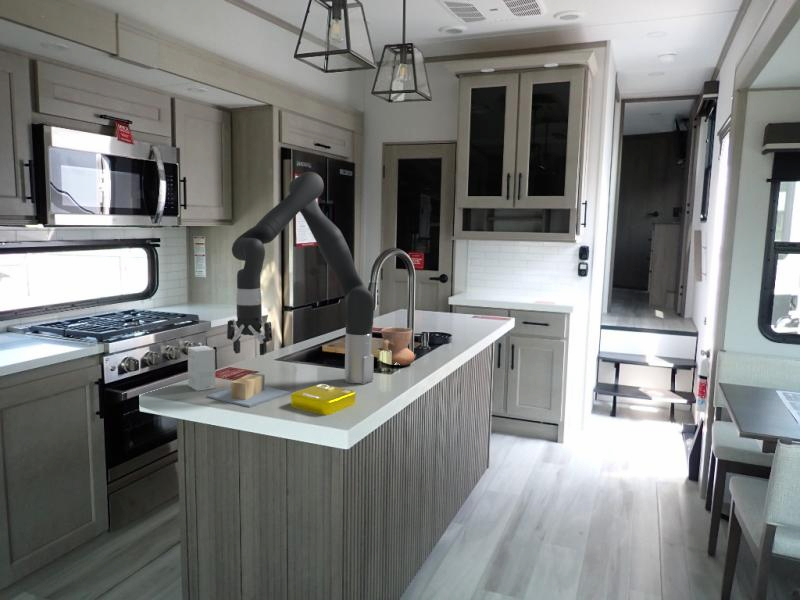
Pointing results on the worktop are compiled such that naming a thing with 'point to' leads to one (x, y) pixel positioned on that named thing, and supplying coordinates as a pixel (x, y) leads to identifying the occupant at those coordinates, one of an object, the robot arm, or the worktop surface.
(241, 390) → the wood block
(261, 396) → the grey mat
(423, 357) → the worktop surface
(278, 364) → the worktop surface
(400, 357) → the ceramic jug
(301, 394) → the element tile
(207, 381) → the small box
